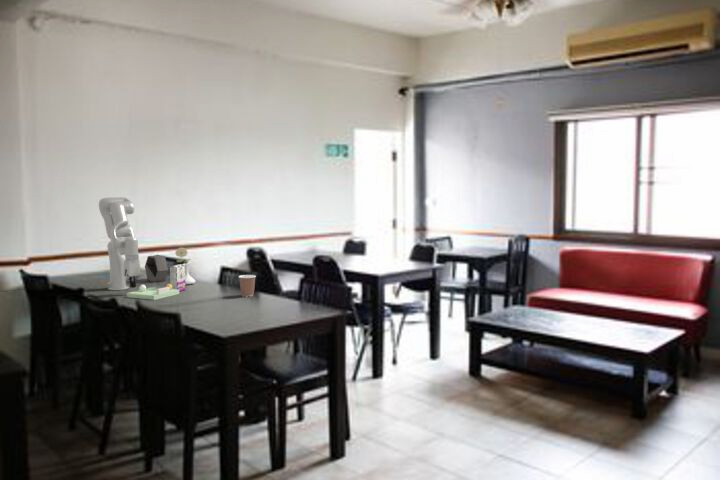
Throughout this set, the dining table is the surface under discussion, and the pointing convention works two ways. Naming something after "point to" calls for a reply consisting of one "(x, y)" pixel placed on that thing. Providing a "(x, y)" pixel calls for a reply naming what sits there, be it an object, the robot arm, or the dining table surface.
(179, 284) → the candy bar box
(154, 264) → the planter
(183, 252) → the flower in vase
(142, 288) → the white ball
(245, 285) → the coffee cup
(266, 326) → the dining table surface
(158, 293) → the green deck
